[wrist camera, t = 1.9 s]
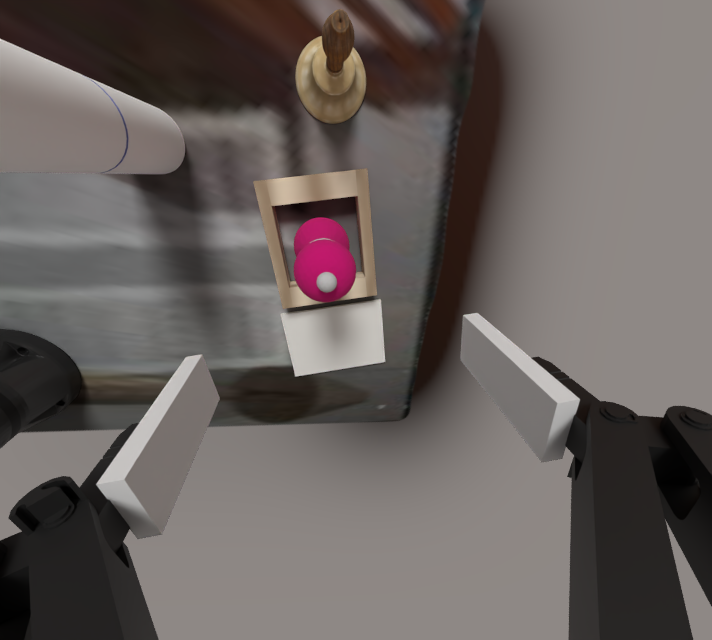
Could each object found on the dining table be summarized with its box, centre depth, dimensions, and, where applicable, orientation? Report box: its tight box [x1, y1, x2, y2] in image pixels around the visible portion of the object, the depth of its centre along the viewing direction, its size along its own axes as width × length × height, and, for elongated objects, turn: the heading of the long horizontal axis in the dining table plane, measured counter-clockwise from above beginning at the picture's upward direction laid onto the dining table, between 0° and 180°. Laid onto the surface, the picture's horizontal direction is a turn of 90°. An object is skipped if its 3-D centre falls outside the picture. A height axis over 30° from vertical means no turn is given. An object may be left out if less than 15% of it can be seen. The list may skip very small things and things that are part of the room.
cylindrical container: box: [0, 39, 185, 174], centre depth 24 cm, size 7×7×25 cm
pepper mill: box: [294, 217, 356, 302], centre depth 34 cm, size 7×7×20 cm
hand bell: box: [296, 9, 366, 124], centre depth 28 cm, size 8×8×16 cm
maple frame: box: [253, 169, 377, 309], centre depth 42 cm, size 14×17×3 cm
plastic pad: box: [281, 299, 385, 377], centre depth 50 cm, size 16×12×1 cm
